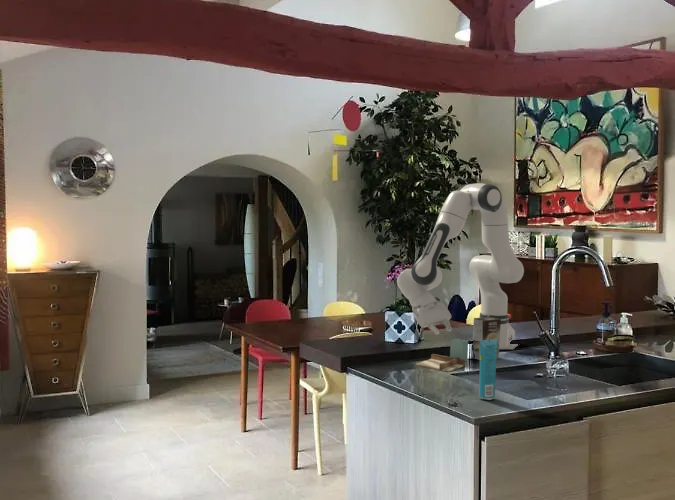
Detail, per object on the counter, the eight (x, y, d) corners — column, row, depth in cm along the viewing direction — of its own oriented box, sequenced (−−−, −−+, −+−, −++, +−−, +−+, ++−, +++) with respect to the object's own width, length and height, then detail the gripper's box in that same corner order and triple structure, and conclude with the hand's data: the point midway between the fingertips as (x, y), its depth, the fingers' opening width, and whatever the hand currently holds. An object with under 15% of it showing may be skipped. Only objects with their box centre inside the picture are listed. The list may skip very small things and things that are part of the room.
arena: (434, 359, 281) (434, 353, 281) (466, 365, 273) (466, 359, 273) (415, 365, 270) (415, 359, 270) (448, 372, 262) (448, 365, 262)
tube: (487, 395, 233) (490, 337, 231) (499, 398, 229) (502, 339, 227) (472, 399, 228) (475, 339, 226) (484, 402, 224) (487, 342, 223)
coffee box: (482, 361, 280) (484, 320, 279) (471, 357, 285) (472, 318, 284) (499, 358, 285) (501, 318, 284) (487, 355, 291) (489, 316, 289)
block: (456, 358, 284) (456, 338, 283) (467, 360, 281) (468, 340, 280) (449, 360, 280) (450, 340, 279) (461, 362, 277) (462, 342, 276)
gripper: (415, 302, 279) (436, 330, 274) (442, 297, 295) (462, 324, 290) (405, 312, 282) (425, 340, 277) (432, 306, 298) (451, 333, 293)
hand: (444, 332), depth 283 cm, fingers open, 8 cm apart
